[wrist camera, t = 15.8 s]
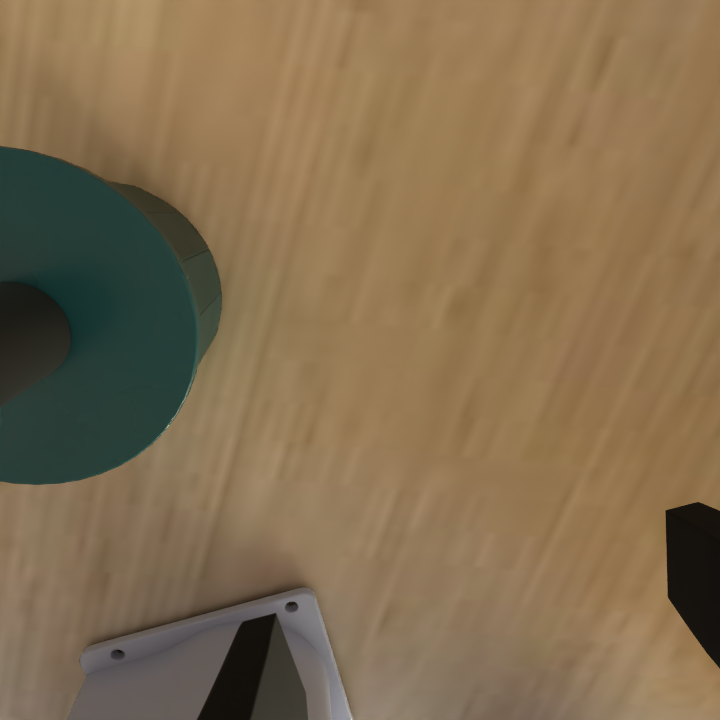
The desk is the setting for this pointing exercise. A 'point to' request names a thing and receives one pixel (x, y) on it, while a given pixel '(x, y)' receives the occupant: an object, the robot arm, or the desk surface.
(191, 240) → the lunch tin
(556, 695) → the desk surface
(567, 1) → the desk surface
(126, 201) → the tin lid
